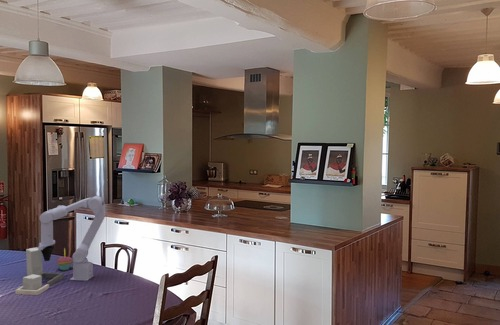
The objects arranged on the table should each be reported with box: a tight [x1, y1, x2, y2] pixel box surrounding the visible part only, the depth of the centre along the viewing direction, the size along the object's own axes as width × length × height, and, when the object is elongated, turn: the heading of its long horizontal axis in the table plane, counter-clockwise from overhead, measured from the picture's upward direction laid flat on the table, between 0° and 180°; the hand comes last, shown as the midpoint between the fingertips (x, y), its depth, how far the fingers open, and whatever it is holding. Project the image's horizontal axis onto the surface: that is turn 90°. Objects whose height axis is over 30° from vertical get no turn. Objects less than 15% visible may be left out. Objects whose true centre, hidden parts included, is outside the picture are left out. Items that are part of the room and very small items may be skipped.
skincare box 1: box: [25, 246, 44, 276], centre depth 236 cm, size 8×6×15 cm
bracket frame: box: [14, 283, 50, 296], centre depth 214 cm, size 11×10×2 cm
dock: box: [40, 272, 64, 288], centre depth 228 cm, size 11×15×2 cm
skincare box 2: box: [22, 274, 43, 290], centre depth 213 cm, size 6×6×7 cm
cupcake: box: [56, 248, 74, 271], centre depth 250 cm, size 9×8×12 cm
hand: (47, 260), depth 231 cm, fingers closed
